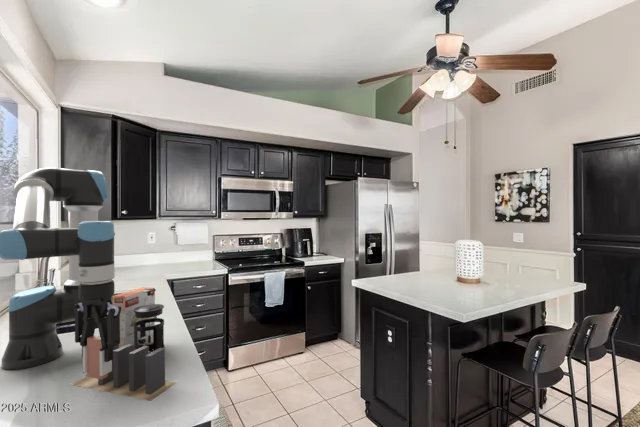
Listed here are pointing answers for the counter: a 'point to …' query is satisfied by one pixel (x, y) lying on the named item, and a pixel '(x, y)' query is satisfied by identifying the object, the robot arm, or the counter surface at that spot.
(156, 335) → the french press
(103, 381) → the domino
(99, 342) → the loose domino
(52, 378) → the counter surface
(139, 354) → the domino
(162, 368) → the domino
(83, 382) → the oak board
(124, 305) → the cracker box
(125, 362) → the domino
